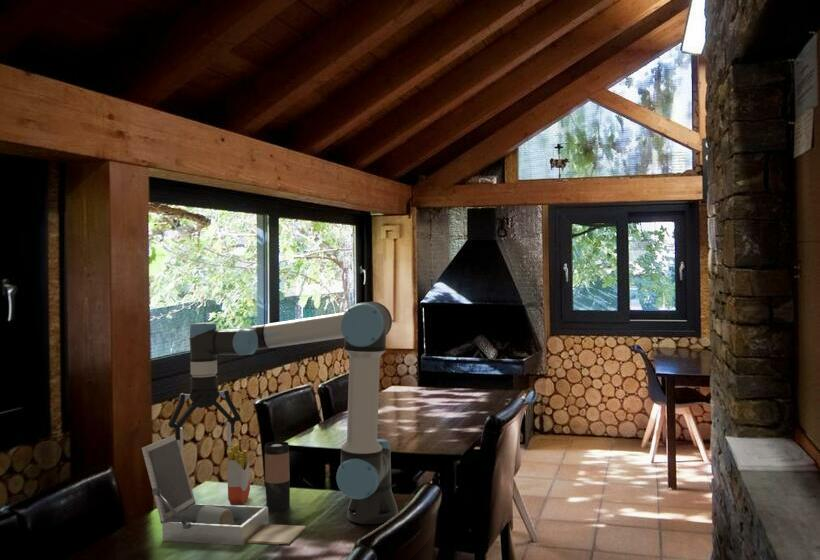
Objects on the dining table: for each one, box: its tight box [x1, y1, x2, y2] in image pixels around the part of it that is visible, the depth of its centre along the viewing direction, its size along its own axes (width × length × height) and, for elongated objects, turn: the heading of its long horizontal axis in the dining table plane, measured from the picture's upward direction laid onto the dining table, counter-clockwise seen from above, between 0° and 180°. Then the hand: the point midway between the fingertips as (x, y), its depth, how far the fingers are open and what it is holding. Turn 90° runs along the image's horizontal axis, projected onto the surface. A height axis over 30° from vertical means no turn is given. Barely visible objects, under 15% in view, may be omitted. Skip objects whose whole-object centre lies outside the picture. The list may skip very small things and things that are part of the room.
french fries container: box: [226, 443, 251, 505], centre depth 226 cm, size 5×11×18 cm, turn 178°
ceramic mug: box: [195, 505, 235, 525], centre depth 198 cm, size 11×8×8 cm
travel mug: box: [264, 441, 291, 512], centre depth 219 cm, size 8×8×20 cm
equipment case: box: [141, 434, 269, 546], centre depth 198 cm, size 30×18×26 cm, turn 78°
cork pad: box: [247, 523, 307, 545], centre depth 194 cm, size 12×13×1 cm
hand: (205, 448), depth 202 cm, fingers open, 13 cm apart
